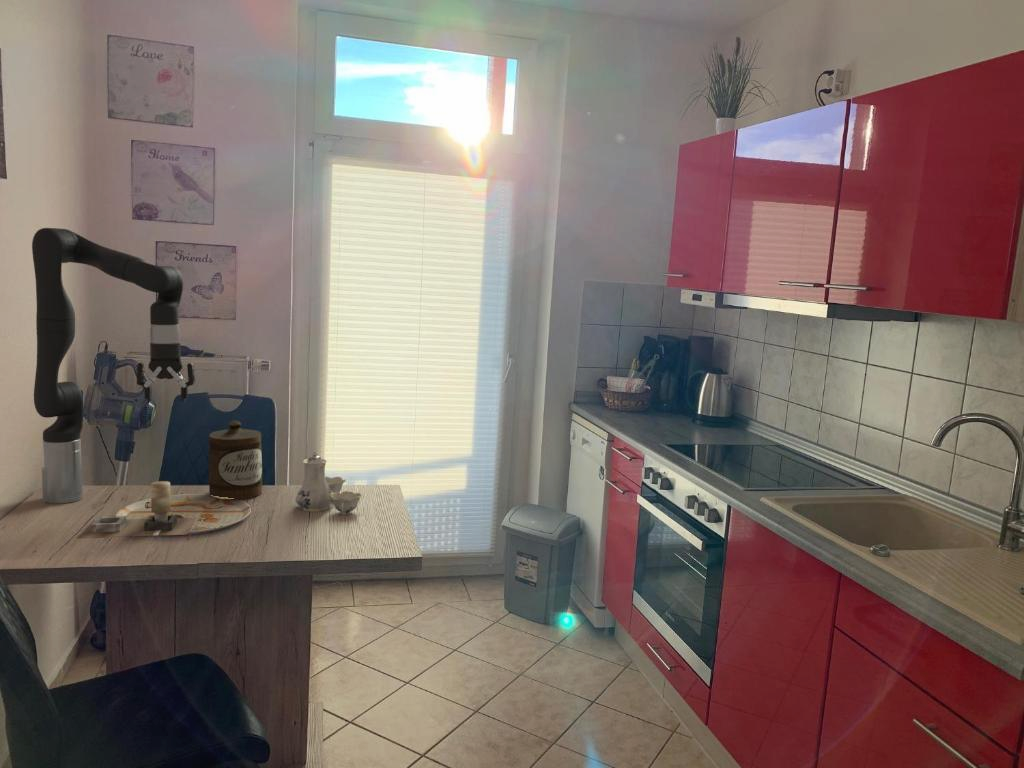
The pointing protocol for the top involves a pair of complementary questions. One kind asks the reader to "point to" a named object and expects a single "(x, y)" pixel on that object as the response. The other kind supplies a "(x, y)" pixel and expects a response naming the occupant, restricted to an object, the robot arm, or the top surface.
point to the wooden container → (235, 463)
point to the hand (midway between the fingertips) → (166, 400)
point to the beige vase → (160, 500)
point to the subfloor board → (137, 527)
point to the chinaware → (324, 489)
